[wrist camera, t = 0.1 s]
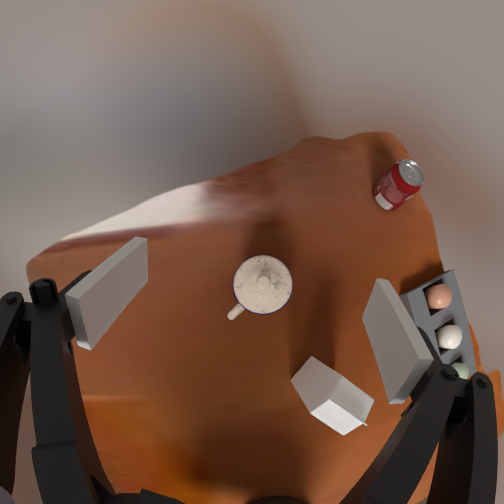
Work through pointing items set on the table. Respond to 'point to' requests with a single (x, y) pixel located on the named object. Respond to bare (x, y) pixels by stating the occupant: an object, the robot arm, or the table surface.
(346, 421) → the milk
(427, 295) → the button terracotta
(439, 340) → the button cream
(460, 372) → the button sage
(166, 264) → the table surface
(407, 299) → the button panel
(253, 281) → the teacup with lid
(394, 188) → the soda can
